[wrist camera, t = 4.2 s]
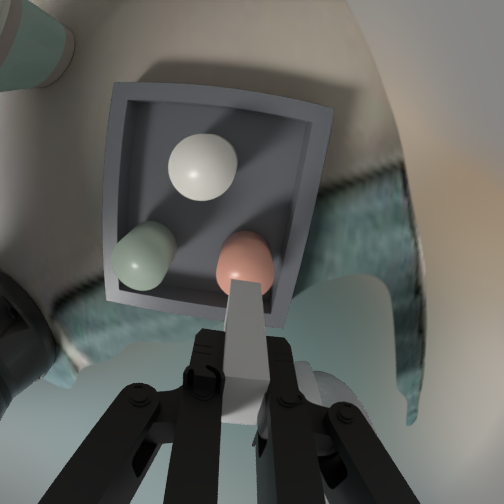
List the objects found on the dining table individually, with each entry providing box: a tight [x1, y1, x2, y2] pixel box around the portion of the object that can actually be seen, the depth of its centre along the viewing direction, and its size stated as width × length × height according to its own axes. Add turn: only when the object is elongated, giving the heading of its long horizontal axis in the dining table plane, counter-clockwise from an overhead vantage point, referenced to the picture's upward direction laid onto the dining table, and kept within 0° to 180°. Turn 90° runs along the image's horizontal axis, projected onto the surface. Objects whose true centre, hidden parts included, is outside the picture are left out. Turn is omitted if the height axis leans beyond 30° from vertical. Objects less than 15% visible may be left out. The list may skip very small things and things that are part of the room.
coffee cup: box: [0, 0, 75, 92], centre depth 10 cm, size 8×9×12 cm
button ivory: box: [168, 134, 238, 201], centre depth 16 cm, size 4×4×3 cm
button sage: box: [111, 221, 177, 291], centre depth 18 cm, size 4×4×3 cm
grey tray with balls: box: [102, 82, 334, 329], centre depth 20 cm, size 14×16×3 cm
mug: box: [294, 361, 377, 504], centre depth 22 cm, size 15×11×13 cm
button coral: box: [216, 231, 274, 295], centre depth 20 cm, size 4×4×3 cm
